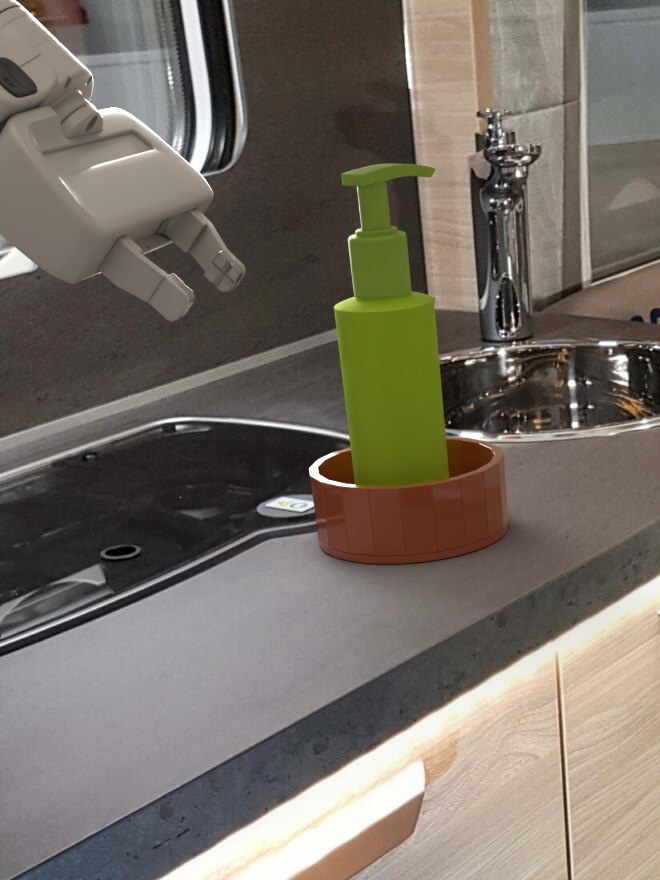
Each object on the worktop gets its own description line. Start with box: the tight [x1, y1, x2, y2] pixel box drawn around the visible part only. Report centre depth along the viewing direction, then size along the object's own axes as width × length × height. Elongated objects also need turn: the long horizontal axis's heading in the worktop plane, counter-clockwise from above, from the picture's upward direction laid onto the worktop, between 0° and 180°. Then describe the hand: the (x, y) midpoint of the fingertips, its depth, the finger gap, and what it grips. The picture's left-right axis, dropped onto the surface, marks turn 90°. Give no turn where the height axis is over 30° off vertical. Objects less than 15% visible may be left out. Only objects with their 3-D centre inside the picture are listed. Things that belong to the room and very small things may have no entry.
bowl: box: [308, 436, 509, 565], centre depth 97 cm, size 12×12×4 cm
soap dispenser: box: [333, 162, 449, 486], centre depth 92 cm, size 6×7×20 cm
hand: (212, 296), depth 92 cm, fingers open, 8 cm apart
